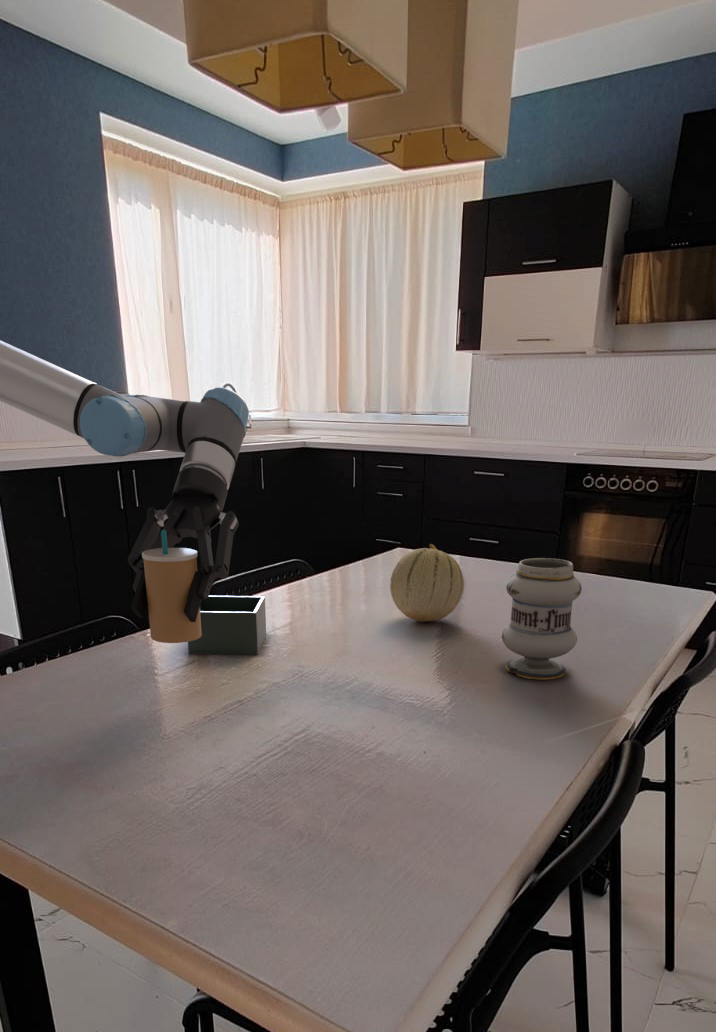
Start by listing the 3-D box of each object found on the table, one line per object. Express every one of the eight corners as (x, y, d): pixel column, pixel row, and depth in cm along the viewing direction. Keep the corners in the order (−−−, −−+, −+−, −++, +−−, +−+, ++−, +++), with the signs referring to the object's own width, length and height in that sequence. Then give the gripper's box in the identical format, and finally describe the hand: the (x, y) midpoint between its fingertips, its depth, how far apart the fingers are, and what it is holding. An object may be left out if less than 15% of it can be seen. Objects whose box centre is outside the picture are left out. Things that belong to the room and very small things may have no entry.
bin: (202, 634, 146) (199, 595, 143) (266, 635, 146) (264, 596, 143) (188, 653, 135) (185, 611, 132) (257, 654, 135) (256, 612, 132)
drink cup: (164, 627, 115) (155, 523, 109) (211, 631, 114) (204, 525, 108) (140, 641, 109) (129, 530, 103) (189, 645, 107) (181, 533, 101)
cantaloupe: (391, 630, 151) (393, 552, 145) (387, 611, 164) (389, 539, 158) (466, 630, 151) (472, 553, 145) (456, 611, 165) (460, 540, 159)
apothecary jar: (483, 667, 130) (492, 559, 123) (532, 655, 136) (543, 552, 129) (538, 687, 121) (550, 572, 114) (587, 673, 127) (602, 564, 120)
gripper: (274, 501, 116) (239, 634, 108) (151, 495, 120) (109, 623, 112) (260, 466, 109) (222, 605, 101) (131, 462, 113) (85, 595, 105)
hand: (163, 614), depth 107 cm, fingers closed on drink cup, 7 cm apart
